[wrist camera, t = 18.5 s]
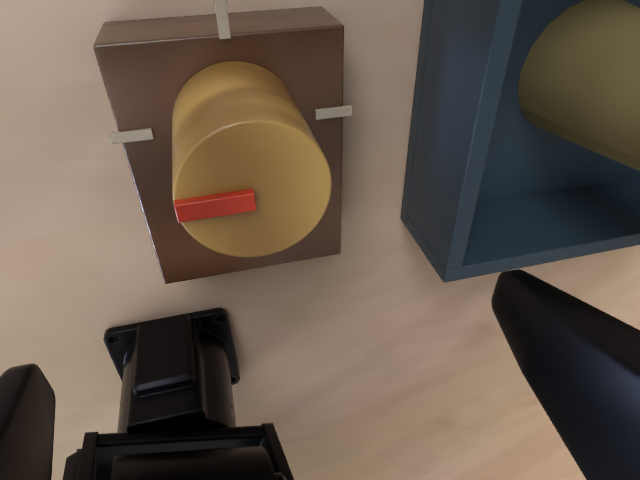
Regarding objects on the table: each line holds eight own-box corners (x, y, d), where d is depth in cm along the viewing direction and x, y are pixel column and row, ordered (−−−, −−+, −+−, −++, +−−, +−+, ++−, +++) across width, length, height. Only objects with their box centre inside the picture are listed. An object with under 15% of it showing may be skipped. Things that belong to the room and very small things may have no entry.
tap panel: (330, 217, 24) (348, 255, 22) (158, 244, 23) (157, 288, 20) (330, -34, 17) (355, -19, 15) (82, -20, 16) (65, -1, 13)
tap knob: (293, 53, 16) (335, 115, 12) (299, 168, 18) (335, 250, 14) (158, 67, 15) (153, 138, 11) (186, 185, 18) (190, 276, 14)
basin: (642, 178, 28) (721, 229, 24) (399, 218, 25) (443, 283, 21) (802, -162, 19) (978, -172, 15) (441, -159, 16) (534, -172, 12)
